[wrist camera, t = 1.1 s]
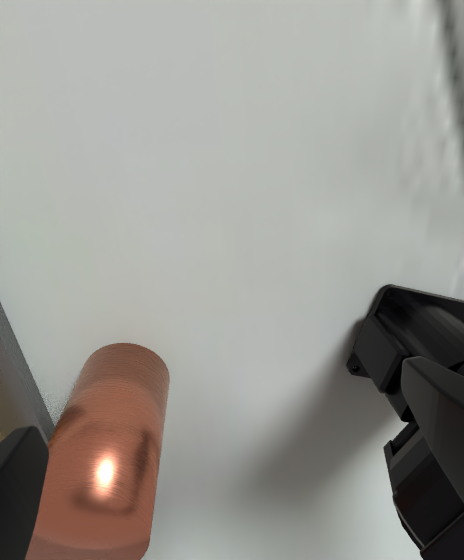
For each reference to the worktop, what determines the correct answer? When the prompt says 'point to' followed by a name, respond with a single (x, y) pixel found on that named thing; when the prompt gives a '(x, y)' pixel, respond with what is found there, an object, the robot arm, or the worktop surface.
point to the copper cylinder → (104, 460)
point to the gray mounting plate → (18, 389)
